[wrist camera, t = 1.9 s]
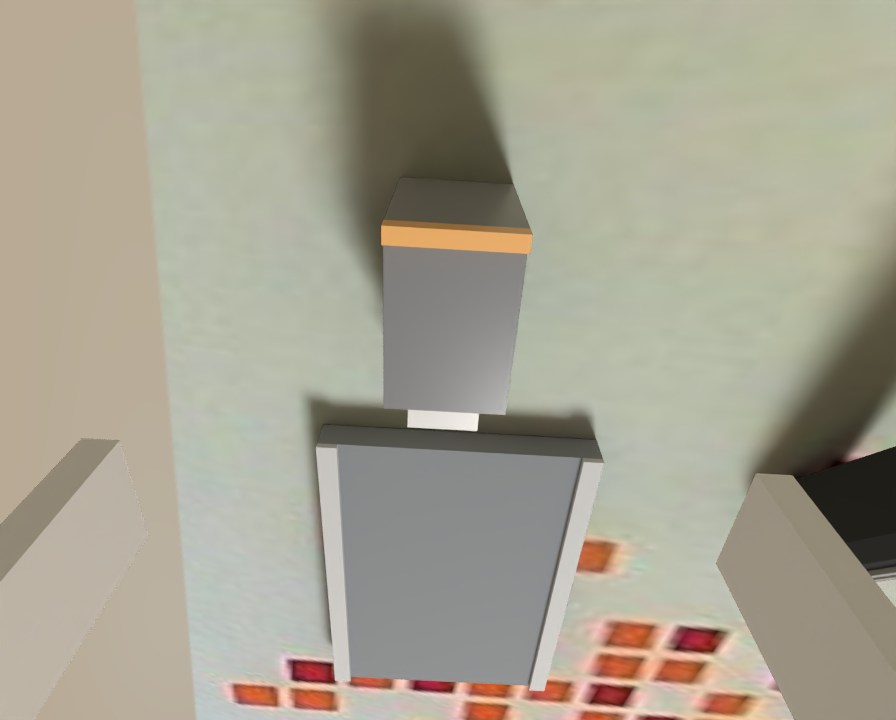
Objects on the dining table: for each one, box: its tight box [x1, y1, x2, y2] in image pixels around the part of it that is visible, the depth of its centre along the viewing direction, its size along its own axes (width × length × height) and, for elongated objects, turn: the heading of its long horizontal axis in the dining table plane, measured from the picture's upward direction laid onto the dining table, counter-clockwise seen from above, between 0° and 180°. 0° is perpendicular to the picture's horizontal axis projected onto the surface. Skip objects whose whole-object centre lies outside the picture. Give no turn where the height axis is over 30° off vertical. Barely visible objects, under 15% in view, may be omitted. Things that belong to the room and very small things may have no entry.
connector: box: [381, 177, 533, 431], centre depth 22 cm, size 10×4×6 cm, turn 177°
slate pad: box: [316, 425, 604, 691], centre depth 32 cm, size 20×14×2 cm
